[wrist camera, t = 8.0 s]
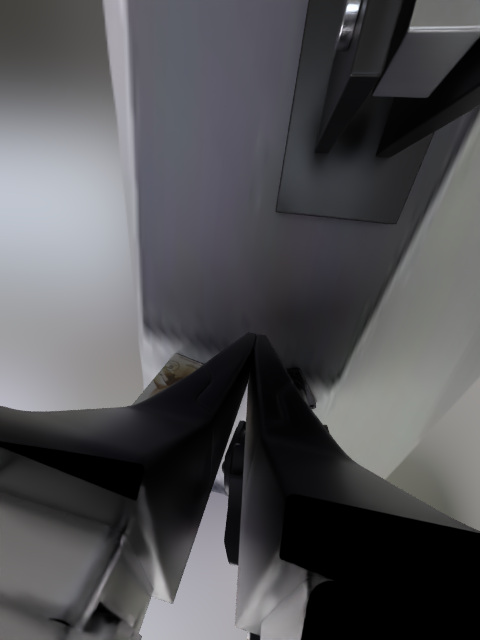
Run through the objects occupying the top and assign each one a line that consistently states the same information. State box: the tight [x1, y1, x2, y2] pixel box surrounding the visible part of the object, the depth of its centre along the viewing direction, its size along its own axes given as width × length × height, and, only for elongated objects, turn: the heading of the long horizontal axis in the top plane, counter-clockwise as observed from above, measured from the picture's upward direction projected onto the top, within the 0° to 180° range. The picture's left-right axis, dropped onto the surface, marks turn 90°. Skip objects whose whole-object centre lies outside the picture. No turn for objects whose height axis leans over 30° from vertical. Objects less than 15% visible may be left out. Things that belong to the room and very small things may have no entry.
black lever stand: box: [276, 0, 480, 224], centre depth 9 cm, size 12×9×10 cm
